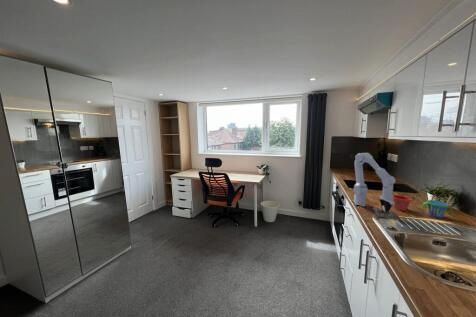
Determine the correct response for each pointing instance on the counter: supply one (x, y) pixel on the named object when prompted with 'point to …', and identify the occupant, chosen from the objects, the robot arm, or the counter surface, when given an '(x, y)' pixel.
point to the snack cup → (436, 208)
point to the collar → (385, 215)
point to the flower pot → (401, 202)
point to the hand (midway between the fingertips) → (385, 210)
